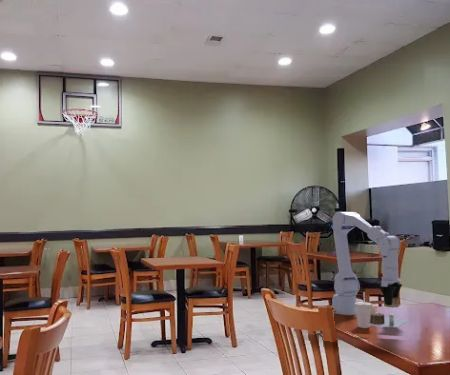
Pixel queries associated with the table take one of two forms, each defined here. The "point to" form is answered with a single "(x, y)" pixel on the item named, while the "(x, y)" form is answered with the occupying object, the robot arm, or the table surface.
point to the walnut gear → (377, 318)
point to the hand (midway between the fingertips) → (391, 303)
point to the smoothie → (363, 313)
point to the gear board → (396, 323)
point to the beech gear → (393, 303)
